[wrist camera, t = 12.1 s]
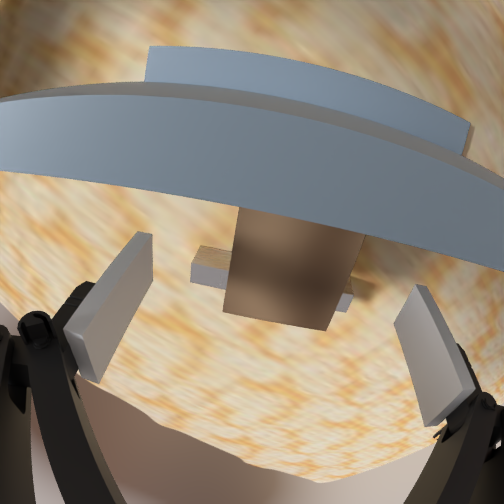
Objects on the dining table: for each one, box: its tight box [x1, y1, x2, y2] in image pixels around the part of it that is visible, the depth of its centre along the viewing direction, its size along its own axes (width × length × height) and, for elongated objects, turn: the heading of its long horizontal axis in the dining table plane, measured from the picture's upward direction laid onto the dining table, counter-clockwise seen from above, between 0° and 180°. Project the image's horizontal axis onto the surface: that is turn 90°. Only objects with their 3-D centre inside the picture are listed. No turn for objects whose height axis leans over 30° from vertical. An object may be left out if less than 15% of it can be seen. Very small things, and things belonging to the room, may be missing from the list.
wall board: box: [0, 46, 504, 272], centre depth 13 cm, size 26×5×18 cm, turn 80°
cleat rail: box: [190, 246, 354, 312], centre depth 27 cm, size 14×2×3 cm, turn 80°
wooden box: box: [223, 207, 366, 331], centre depth 20 cm, size 6×11×10 cm, turn 170°
